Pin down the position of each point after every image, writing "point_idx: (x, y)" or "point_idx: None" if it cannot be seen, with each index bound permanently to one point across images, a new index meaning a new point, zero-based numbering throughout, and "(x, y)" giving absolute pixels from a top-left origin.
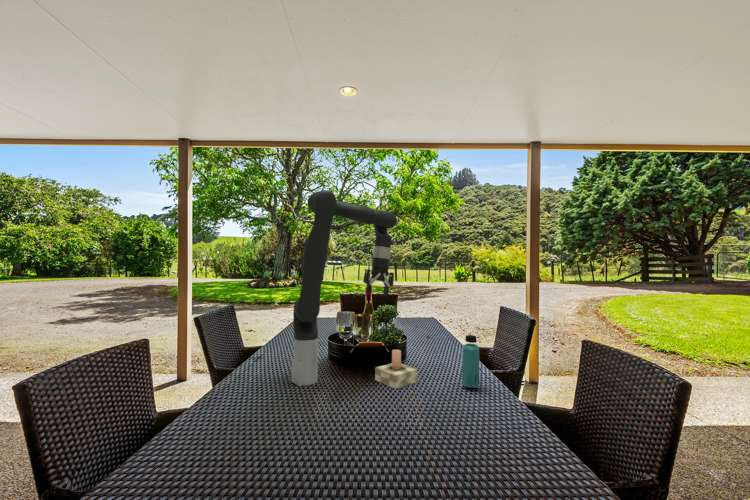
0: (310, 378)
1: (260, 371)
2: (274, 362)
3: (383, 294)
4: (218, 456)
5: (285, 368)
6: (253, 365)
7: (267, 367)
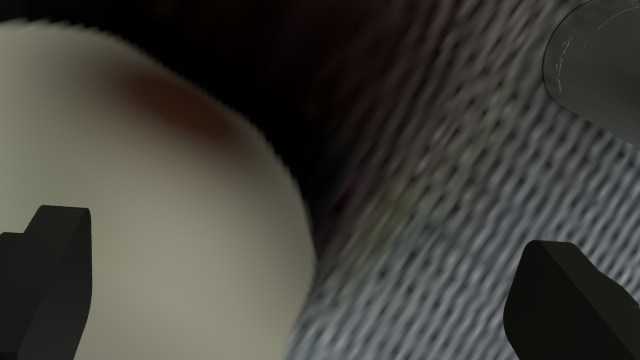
0: (634, 3)
1: (622, 271)
2: None
3: (88, 309)
4: None
5: None
6: None
7: None
